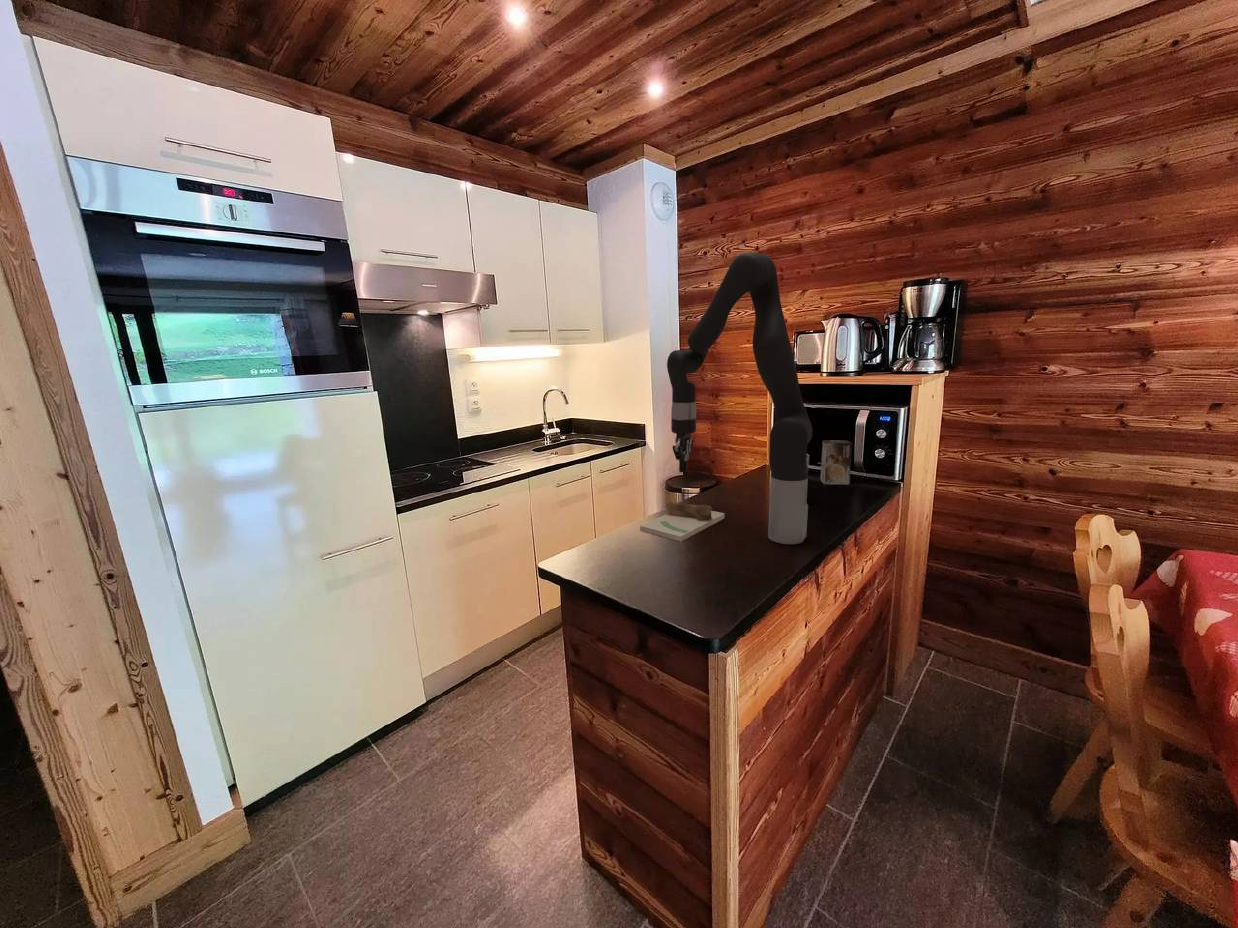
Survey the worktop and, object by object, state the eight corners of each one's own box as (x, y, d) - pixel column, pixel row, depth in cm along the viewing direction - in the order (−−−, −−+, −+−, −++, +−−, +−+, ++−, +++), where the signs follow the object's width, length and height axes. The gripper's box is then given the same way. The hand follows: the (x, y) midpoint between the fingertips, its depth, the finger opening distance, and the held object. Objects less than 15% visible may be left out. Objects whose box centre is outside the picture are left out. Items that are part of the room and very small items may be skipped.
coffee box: (844, 480, 186) (847, 439, 182) (849, 485, 180) (853, 442, 176) (819, 480, 187) (822, 439, 184) (823, 484, 181) (826, 442, 178)
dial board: (685, 509, 156) (686, 505, 156) (724, 518, 147) (724, 513, 147) (640, 530, 139) (640, 525, 138) (681, 541, 129) (681, 536, 129)
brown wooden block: (713, 516, 143) (713, 505, 143) (708, 521, 140) (708, 509, 139) (670, 510, 150) (670, 500, 149) (665, 515, 146) (665, 504, 145)
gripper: (679, 414, 154) (679, 466, 157) (663, 419, 142) (664, 475, 146) (702, 414, 150) (701, 468, 154) (687, 420, 139) (687, 478, 143)
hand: (683, 471), depth 150 cm, fingers closed
